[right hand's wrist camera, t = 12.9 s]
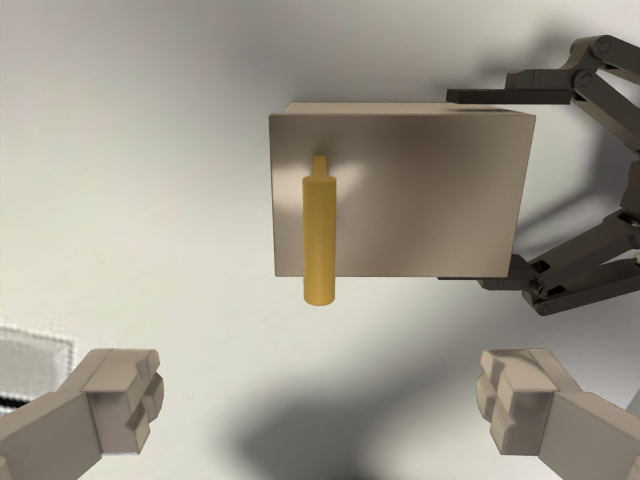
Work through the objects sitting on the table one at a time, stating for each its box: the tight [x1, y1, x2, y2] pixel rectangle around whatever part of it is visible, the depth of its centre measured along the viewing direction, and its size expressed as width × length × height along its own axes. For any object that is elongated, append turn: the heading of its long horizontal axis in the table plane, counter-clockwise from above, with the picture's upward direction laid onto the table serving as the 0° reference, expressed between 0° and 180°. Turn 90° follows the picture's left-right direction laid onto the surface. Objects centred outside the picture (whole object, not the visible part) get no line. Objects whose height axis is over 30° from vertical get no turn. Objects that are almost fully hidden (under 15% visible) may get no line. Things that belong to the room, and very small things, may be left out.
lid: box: [269, 113, 536, 306], centre depth 22 cm, size 15×10×8 cm
